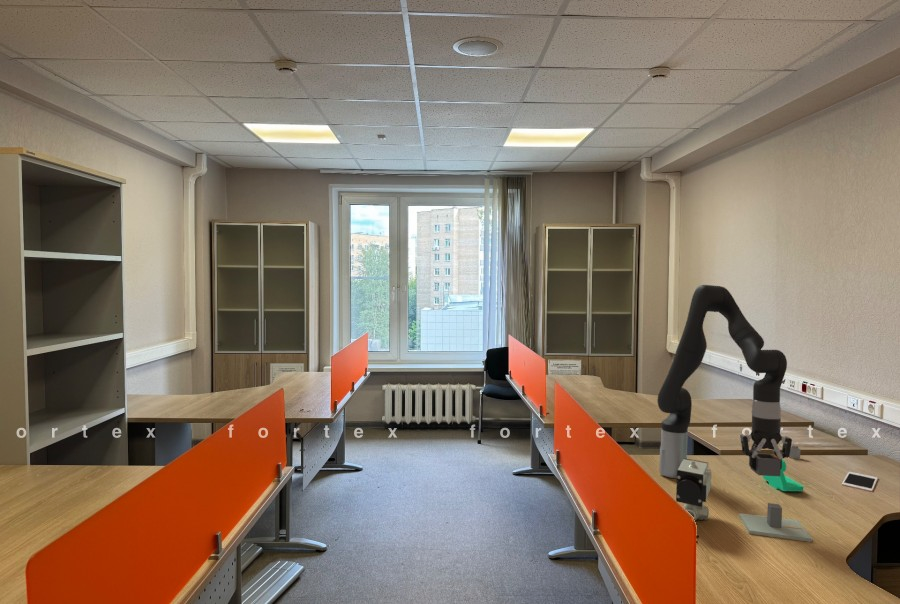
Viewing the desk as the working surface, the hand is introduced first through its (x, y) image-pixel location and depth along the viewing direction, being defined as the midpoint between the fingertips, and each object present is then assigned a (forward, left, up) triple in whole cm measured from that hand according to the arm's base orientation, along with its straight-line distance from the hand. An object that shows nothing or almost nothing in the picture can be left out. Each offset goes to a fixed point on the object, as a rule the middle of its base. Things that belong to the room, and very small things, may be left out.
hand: (765, 469), depth 162 cm
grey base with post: (+2, -3, -17) cm, 17 cm away
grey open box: (0, 0, -1) cm, 1 cm away
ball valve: (-20, -3, -17) cm, 26 cm away
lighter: (+28, +73, -17) cm, 80 cm away
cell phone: (+44, +50, -17) cm, 69 cm away
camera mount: (+15, +35, -17) cm, 42 cm away
